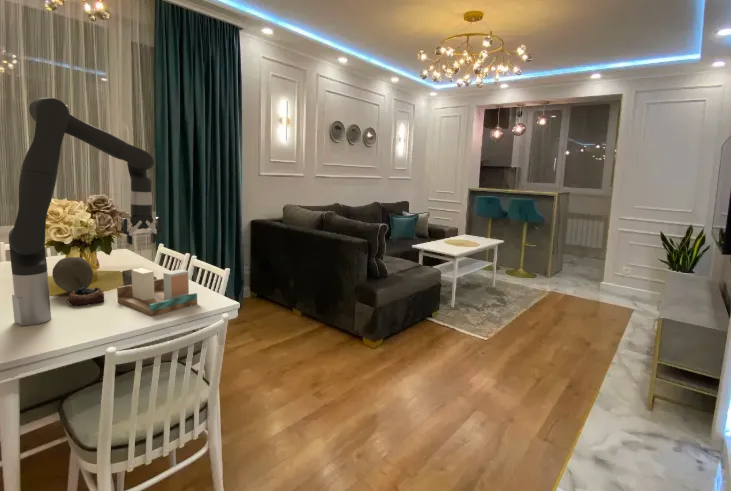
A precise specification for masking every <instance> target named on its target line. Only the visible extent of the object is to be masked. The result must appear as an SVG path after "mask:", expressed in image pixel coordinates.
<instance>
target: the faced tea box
mask: <svg viewBox="0 0 731 491" xmlns="http://www.w3.org/2000/svg"><path fill="white" fill-rule="evenodd" d="M189 278H190V276H189V270H186V269H183V268H181V269H176V270H171V271H165V272H163V279H164V299H165V300H169V299H173V298H177V297H181V296H185V295H189V294H190V293H189V291H190V290H189V289H190V288H189V287H190V285H189Z"/></svg>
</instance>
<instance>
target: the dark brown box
mask: <svg viewBox="0 0 731 491" xmlns="http://www.w3.org/2000/svg"><path fill="white" fill-rule="evenodd" d="M139 268H140V267H139ZM139 268H137V269H139ZM133 269H134V268H133ZM133 269H132V268H131V269H126V270H122V272H121V274H122V282H123V284H125V286H127V285H132V271H131V270H133ZM154 280H157V277H156V276H154Z"/></svg>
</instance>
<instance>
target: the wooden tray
mask: <svg viewBox="0 0 731 491" xmlns="http://www.w3.org/2000/svg"><path fill="white" fill-rule="evenodd" d="M116 291H117V293H116V294H117V302H118V303H120V304H122V305H125V306H127V307H129V308H132V309H134V310H136V311H138V312H141V313H143V314H145V315H148V316H150V317H154V316H159V315H162V314H165V313H169V312H173V311H176V310H181V309H184V308H188V307H191V305H192V306H195V305H198V293H196V292H193V293H189V295H185V296H181V297H177V298H173V299H169V300H165V299H164V277H162V278H158V279H157V280H154V298H153V299H149V300H144V301H143V300H141V299H138V298H136V297H133V294H132V285H123V286H118V287H116Z"/></svg>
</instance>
